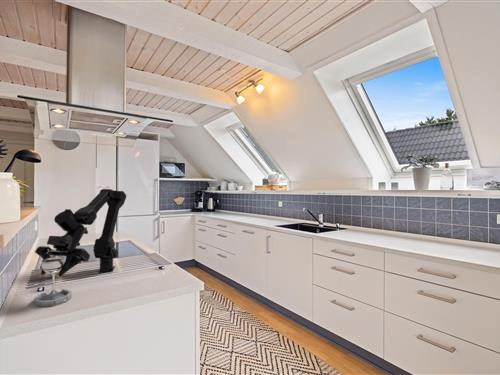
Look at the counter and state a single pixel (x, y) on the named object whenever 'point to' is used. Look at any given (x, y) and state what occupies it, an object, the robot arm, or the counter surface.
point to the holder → (52, 298)
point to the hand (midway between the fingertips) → (50, 275)
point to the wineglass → (53, 270)
